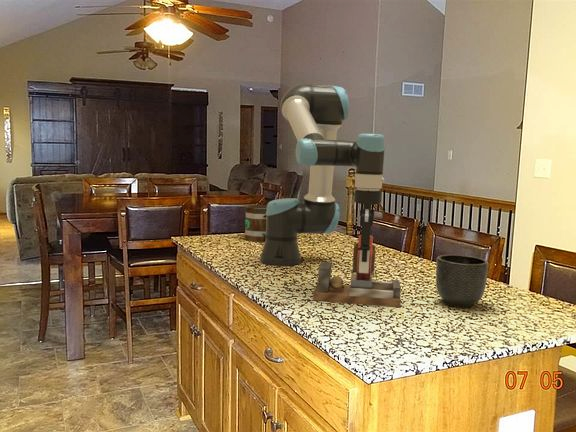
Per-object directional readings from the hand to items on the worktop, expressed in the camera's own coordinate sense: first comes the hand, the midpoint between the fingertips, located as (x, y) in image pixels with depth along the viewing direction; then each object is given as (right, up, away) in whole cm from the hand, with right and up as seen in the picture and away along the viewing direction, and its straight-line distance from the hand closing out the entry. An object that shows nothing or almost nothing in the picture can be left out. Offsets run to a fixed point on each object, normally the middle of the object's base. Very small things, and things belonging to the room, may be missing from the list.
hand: (363, 270), depth 154 cm
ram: (-1, -6, +1) cm, 6 cm away
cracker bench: (-2, -8, +1) cm, 8 cm away
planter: (+27, -10, -1) cm, 29 cm away
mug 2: (+5, -4, +33) cm, 34 cm away
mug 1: (-34, +4, +89) cm, 95 cm away
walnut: (-7, -6, +2) cm, 10 cm away
